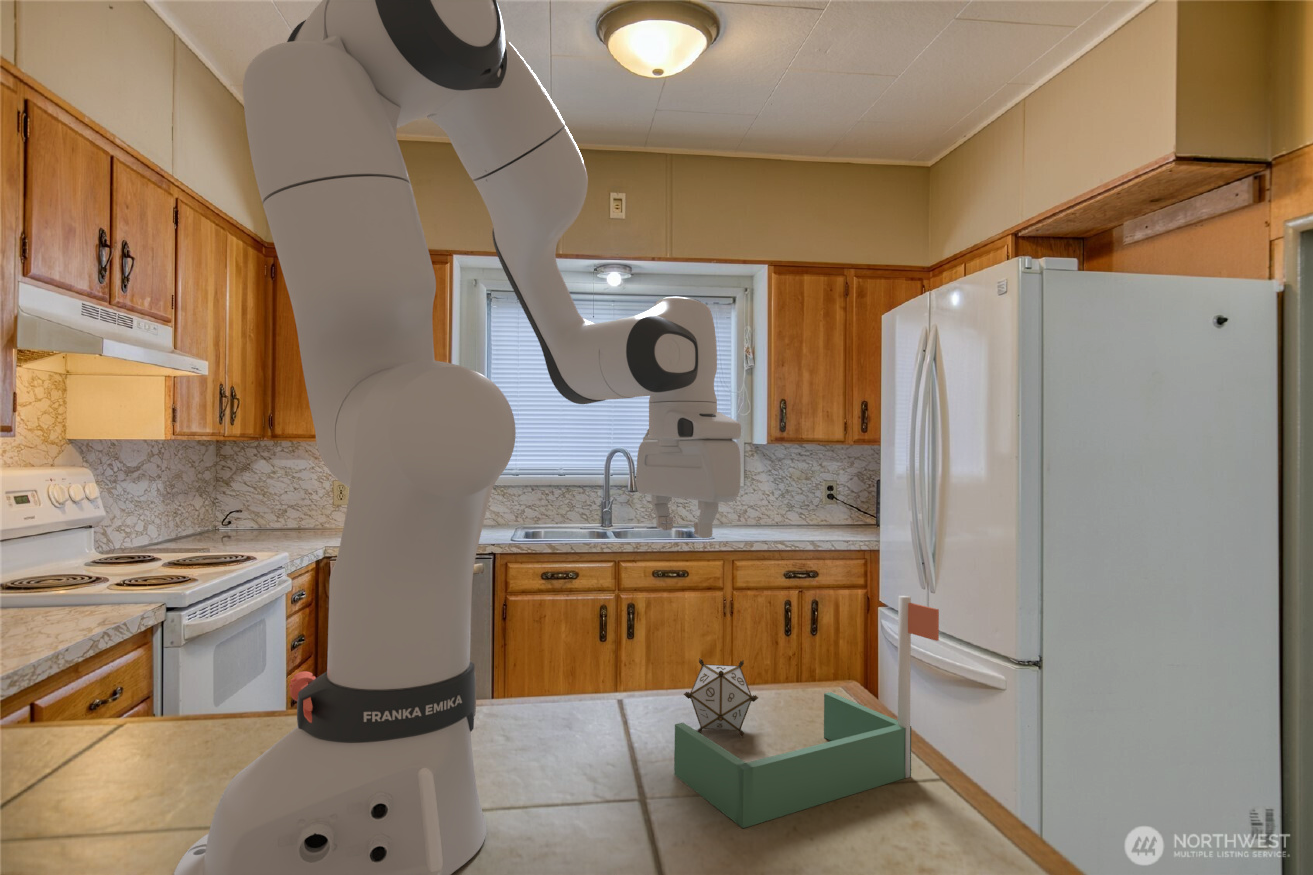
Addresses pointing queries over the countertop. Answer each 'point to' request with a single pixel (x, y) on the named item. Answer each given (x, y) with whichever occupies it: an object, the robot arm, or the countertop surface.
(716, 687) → the game die
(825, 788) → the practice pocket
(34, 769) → the countertop surface
